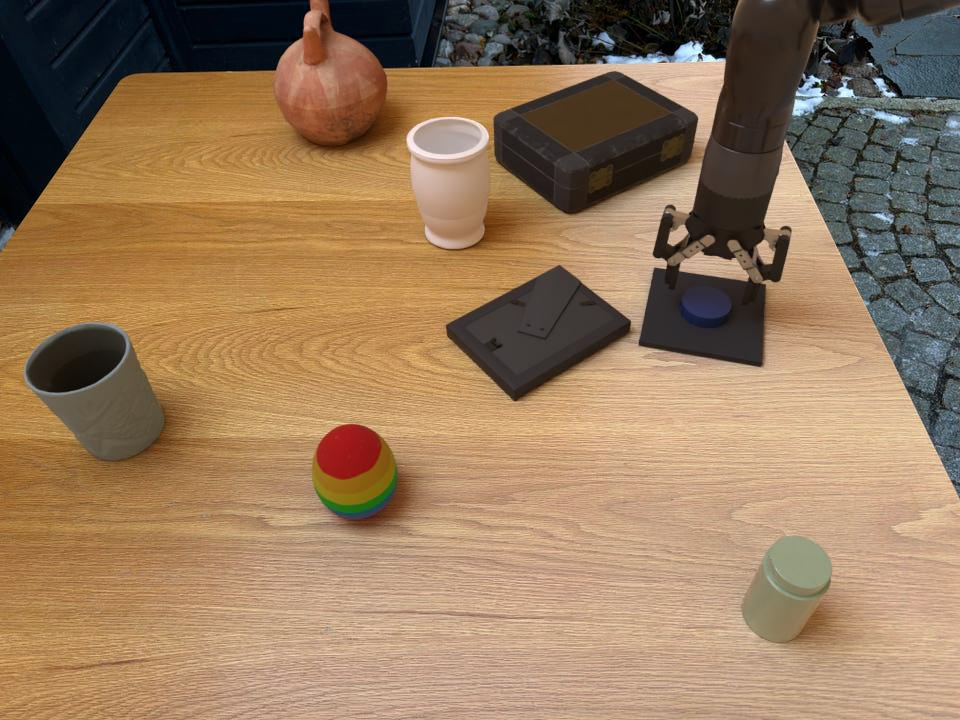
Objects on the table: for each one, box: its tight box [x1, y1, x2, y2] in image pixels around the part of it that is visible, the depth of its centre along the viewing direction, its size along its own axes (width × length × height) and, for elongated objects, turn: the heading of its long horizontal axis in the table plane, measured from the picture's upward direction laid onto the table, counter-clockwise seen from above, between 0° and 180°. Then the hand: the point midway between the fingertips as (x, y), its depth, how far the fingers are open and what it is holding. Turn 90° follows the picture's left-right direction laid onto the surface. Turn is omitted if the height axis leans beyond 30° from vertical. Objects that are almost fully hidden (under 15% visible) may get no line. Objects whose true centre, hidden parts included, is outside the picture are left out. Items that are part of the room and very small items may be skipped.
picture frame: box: [445, 264, 632, 402], centre depth 90 cm, size 13×2×18 cm
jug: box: [272, 0, 388, 147], centre depth 119 cm, size 18×18×20 cm
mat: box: [638, 267, 767, 368], centre depth 91 cm, size 14×14×1 cm
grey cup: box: [23, 321, 165, 462], centre depth 78 cm, size 10×10×12 cm
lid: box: [679, 286, 732, 328], centre depth 91 cm, size 6×6×2 cm
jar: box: [406, 116, 492, 250], centre depth 100 cm, size 11×10×15 cm
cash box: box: [493, 70, 699, 213], centre depth 114 cm, size 25×20×8 cm
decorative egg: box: [311, 423, 399, 520], centre depth 72 cm, size 8×8×10 cm
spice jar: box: [741, 535, 833, 643], centre depth 62 cm, size 5×5×9 cm
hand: (708, 293), depth 89 cm, fingers open, 8 cm apart
